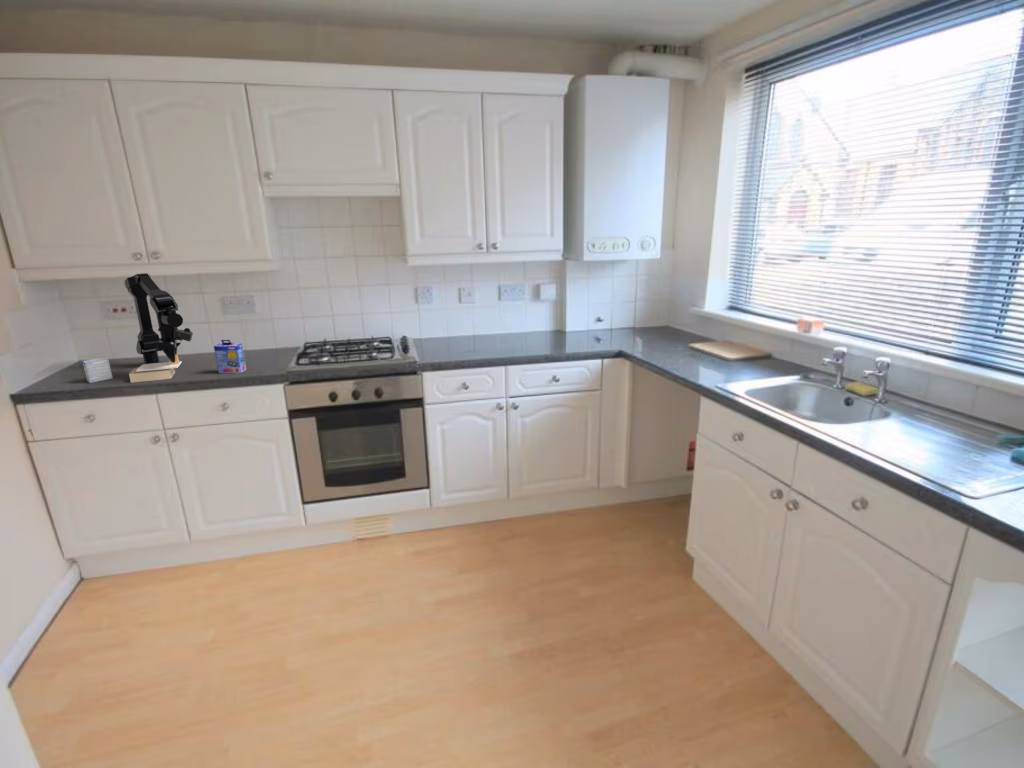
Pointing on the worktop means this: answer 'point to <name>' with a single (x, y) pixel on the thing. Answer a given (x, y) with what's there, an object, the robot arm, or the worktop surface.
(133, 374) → the carton
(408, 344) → the worktop surface
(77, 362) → the worktop surface
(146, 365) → the lid
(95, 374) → the medicine box
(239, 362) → the ink cartridge box
